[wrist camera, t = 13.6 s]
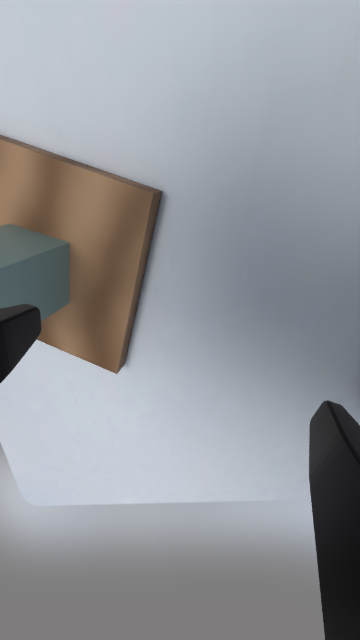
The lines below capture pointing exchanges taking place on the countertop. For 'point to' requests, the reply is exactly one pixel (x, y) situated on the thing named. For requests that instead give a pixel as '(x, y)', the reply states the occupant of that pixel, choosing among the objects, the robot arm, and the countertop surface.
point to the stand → (84, 244)
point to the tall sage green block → (33, 270)
